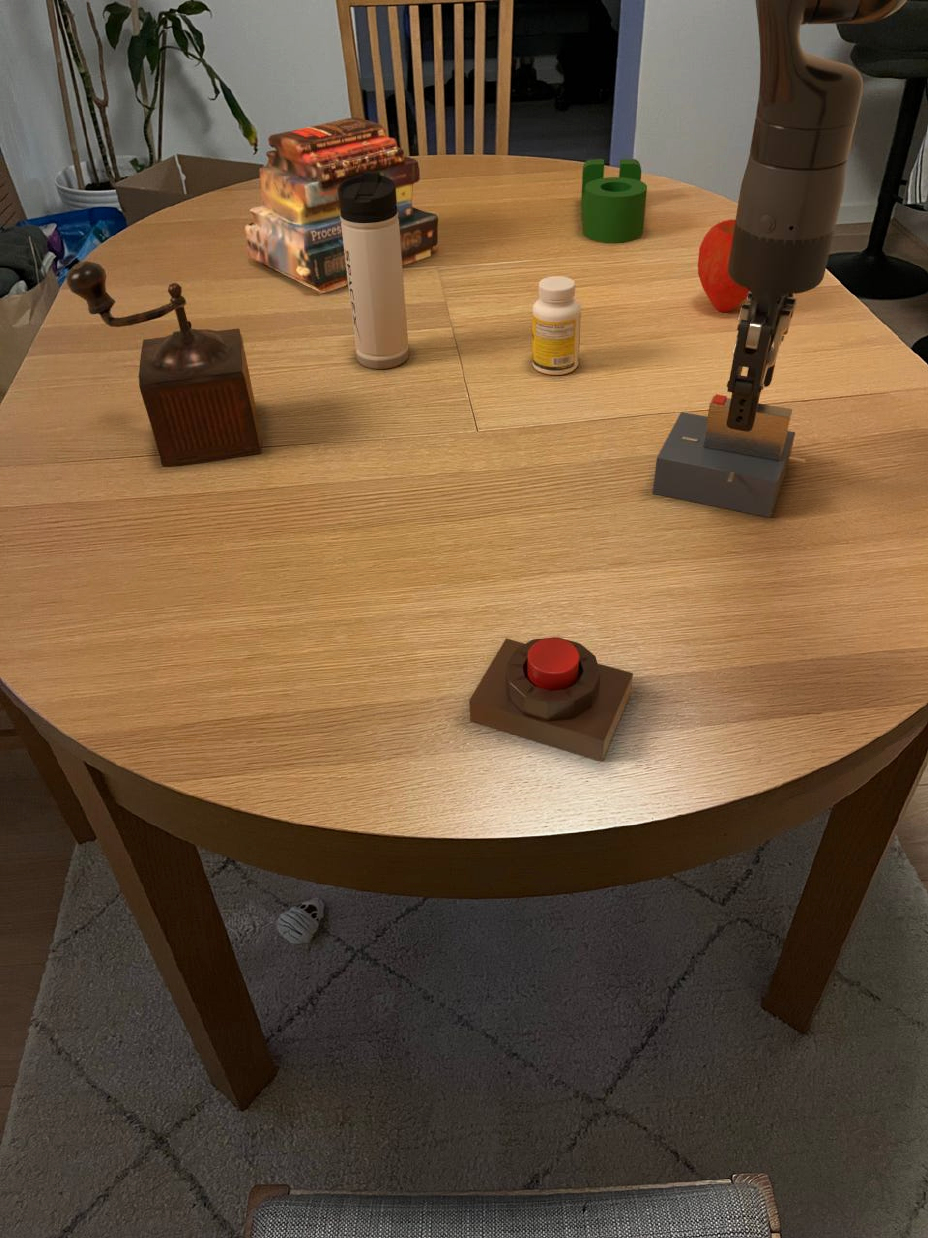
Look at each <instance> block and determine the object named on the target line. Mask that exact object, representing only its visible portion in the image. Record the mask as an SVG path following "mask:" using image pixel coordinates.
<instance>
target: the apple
mask: <svg viewBox="0 0 928 1238" xmlns="http://www.w3.org/2000/svg"><path fill="white" fill-rule="evenodd" d="M735 220H736V219H727V220H723V221H721V222H718V223H716V224H715V225H713V226H712V227H710V229H709V230H708V232H706V234H705V235H704V237H703V239H702V242H701V244H700V246H699V249H698V257H697V258H698V259H697V274H698V278H699V281H700V284H701V287H702V290H703V291H704V293H705V296H706V297H707V298H708V300H709V302H710V303H711V306H712V307H713V308H714V309H715V310H717V311H718V312H721V313H728V312H731V311H732V310H734V309H735V308H737V307H738V306H739V305H740V304H741V303H742V302H743V301H745V299H747V295H748V292H750V291H749V290H748V289H746V288H745V287H741V286H739V285H738V284H736V283H735V282H734V281H733V280H732V279H731V278H730V276H729V274H728V263H729V257H730V251H731V245H732V239H733V232H734V226H735Z"/></svg>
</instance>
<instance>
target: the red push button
mask: <svg viewBox="0 0 928 1238" xmlns="http://www.w3.org/2000/svg"><path fill="white" fill-rule="evenodd" d="M546 638H547V639H543V640H540V641H538V642H536V643H535V644H533V645H532V646H531V648H530V649H529V651H528V662H527V674H528V677H529V679H530V680H531V682H532V683H533V684H534V685H536V686H537V687H539V688H543V689H546V690H550V691H553V690H562V689H566V688H568V687H570V686H571V685H572V684H574V682H575V681H576V680H577V677H578V671H579V653H578V650H577V649H576V647H575V646H574V645H573V644H571V643H570V642H568V641H566V640H567V639H566V640H563V639H564V638H562V639H558V638H552V637H546Z"/></svg>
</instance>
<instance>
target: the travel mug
mask: <svg viewBox="0 0 928 1238" xmlns="http://www.w3.org/2000/svg"><path fill="white" fill-rule="evenodd" d="M338 197H339V205H340V219H341V227H342V236H343V244H344V253H345V261H346V270H347V279H348V285H347V286H348V287H347V288H348V294H349V303H350V312H351V320H352V329H353V337H354V338H353V339H354V346H355V355H356V360H357V362H358V363H359V364H360V365H361V366H364V367H366V368H369V369H373V370H385V369H386V370H387V369H392V368H395V367H399V366H401V365H402V364H404V363H405V362H406V361H407V360H408V359H409V357H410V352H409V351H410V350H409V349H410V348H409V335H408V324H407V309H406V297H405V286H404V285H405V284H404V271H403V266H402V256H401V243H400V230H399V219H398V210H397V205H396V203H397V197H396V185H395V182H394V181H393V180H392V179H390V178H388V177H386V176H382V175H380V173H379V172H363V175H361V176H356V177H352V178H350V179H347V180H345V181H344V182H342V183H341V184H340V186H339V187H338Z"/></svg>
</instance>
